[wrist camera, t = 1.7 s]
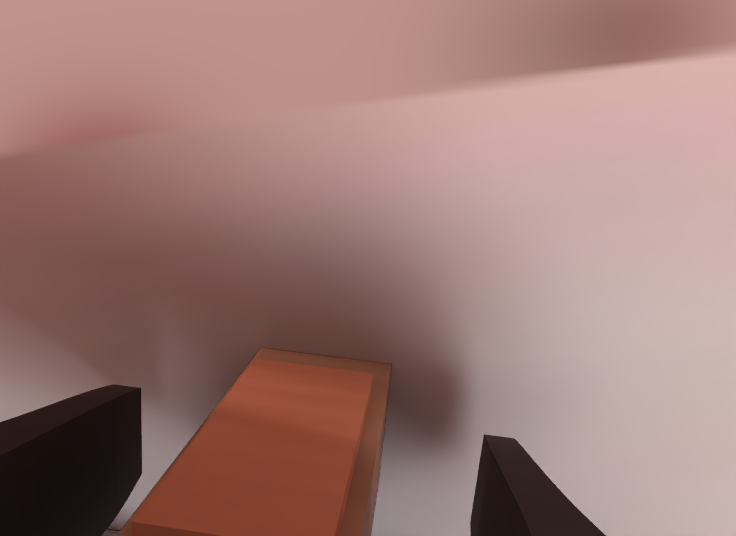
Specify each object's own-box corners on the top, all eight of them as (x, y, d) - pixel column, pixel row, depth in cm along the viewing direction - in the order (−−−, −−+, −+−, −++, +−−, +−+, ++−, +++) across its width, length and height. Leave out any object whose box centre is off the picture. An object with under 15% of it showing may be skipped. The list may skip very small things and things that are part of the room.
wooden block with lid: (378, 481, 14) (327, 822, 7) (255, 463, 14) (91, 777, 7) (393, 347, 13) (350, 590, 6) (261, 331, 13) (83, 547, 6)
